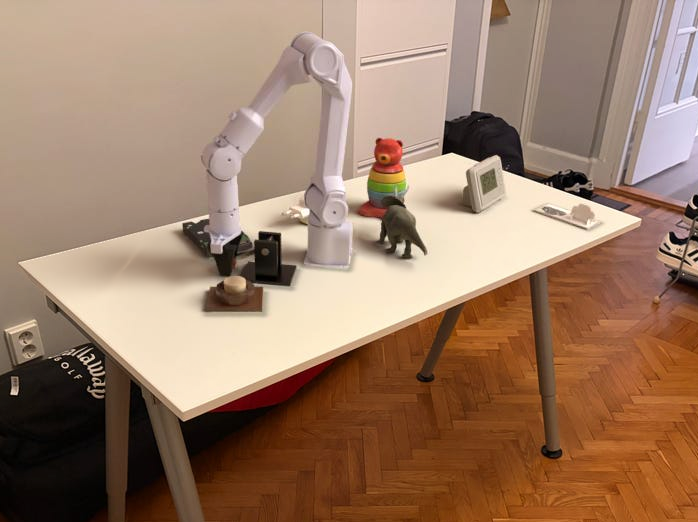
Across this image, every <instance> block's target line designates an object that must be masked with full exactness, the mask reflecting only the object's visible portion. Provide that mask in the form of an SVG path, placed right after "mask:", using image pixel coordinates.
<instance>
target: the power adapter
mask: <svg viewBox="0 0 698 522" xmlns="http://www.w3.org/2000/svg"><path fill="white" fill-rule="evenodd" d="M289 214H290V216H289V217H288V218H289V219H290V220H293V219H295V218H298V219H299V221H300V222H301V223H303V224H306V225H308V215H309V208H308V207H307V206H306V205H305V202H304V196H303V197H300V198H299V200H298V204H296V205H293V206H289V208H288V210H287V211H283V212H282V213H281V215H282V216H286V215H289Z"/></svg>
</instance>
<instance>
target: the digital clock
mask: <svg viewBox="0 0 698 522" xmlns="http://www.w3.org/2000/svg"><path fill="white" fill-rule="evenodd" d="M501 159H502V158H501V156H498V154H495V155H492V156H490V157H489V156H488V157H487V158H485V159H483V160H481V161H479V162H478V163H476V164H474V165H472V166H471V167H469V168H468V169H467V170H466V171H465V178H466V183H467V185H466V186H464V187H463V190H462V196H461V205H464V206H466V207H469V208H471V209H472V211H473V212H474V213H481V212H482V211H485V210H487V209H488V208H490V207H492V206H493V205H495V204H497V203H498V202H499V200H501V199H502V198H504V197H505V196H506V195H507V189H506V183H505V177H504V171H503V165H502V160H501Z"/></svg>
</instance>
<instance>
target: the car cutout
mask: <svg viewBox="0 0 698 522" xmlns="http://www.w3.org/2000/svg"><path fill="white" fill-rule="evenodd" d="M533 212H535V213H538V214H539V215H540V214H541V215H543V216H547V217H550V218H553V219H555V220H558V221H559V222H563V223H566V224H569V225H572V226H574V227H578V228H581V229H584V230H586V231H589V230H590V229H591V228H593V227H595V226H598V225H599V224H601V222H602V221H601V220H599V219H595V216H596V215H595V212H594V211H592V209H591V206H588V205H587V204H583V203H579V204H578V205H577V206H576V205H573V206H572V207H571V210H569V209H567V208H563V207H560V206H557V205H555V204H552V203H549V202H548V203H546V204H543V205H541V206H539V207H537V208H535V209H534V210H533Z"/></svg>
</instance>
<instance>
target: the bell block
mask: <svg viewBox="0 0 698 522" xmlns="http://www.w3.org/2000/svg"><path fill="white" fill-rule="evenodd" d="M263 306H264V286H255V283H251V282H250V281H248V280H246V290H245V291H244V292H240V293H229V292H225V290H224V280H222V281H220V282H218V283H217V284H216V285H215V286H210V287H209V292H208V297H207V302H206V312H207V313H260V312H261V313H262V312H263V308H264V307H263Z"/></svg>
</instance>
